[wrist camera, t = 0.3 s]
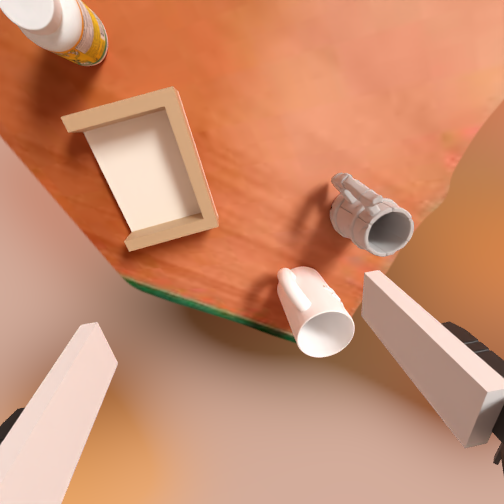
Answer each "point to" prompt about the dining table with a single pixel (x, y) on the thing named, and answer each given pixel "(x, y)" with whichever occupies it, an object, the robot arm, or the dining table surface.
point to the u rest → (150, 165)
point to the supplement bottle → (61, 28)
